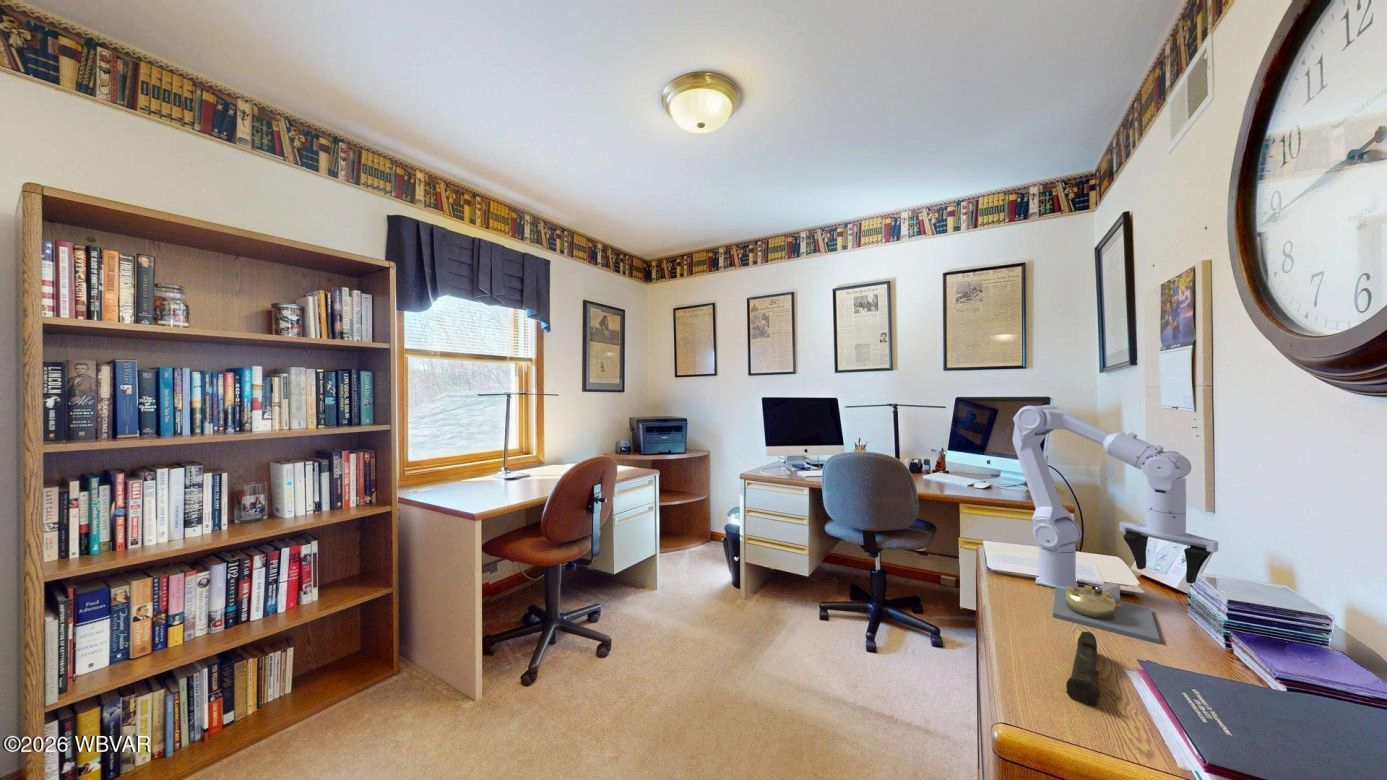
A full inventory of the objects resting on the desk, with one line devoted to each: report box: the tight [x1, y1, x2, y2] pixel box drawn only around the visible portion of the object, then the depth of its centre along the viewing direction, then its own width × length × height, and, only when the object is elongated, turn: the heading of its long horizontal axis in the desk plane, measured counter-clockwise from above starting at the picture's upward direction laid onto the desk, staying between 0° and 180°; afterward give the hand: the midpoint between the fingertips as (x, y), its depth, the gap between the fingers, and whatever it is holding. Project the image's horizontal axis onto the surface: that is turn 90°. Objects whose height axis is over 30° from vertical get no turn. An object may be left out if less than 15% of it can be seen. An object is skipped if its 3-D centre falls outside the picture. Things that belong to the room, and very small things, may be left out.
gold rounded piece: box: [1066, 581, 1121, 619], centre depth 100 cm, size 14×8×4 cm, turn 114°
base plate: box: [1052, 587, 1161, 644], centre depth 99 cm, size 16×16×1 cm
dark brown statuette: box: [1065, 631, 1101, 707], centre depth 78 cm, size 19×4×5 cm, turn 135°
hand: (1165, 575), depth 96 cm, fingers open, 7 cm apart
